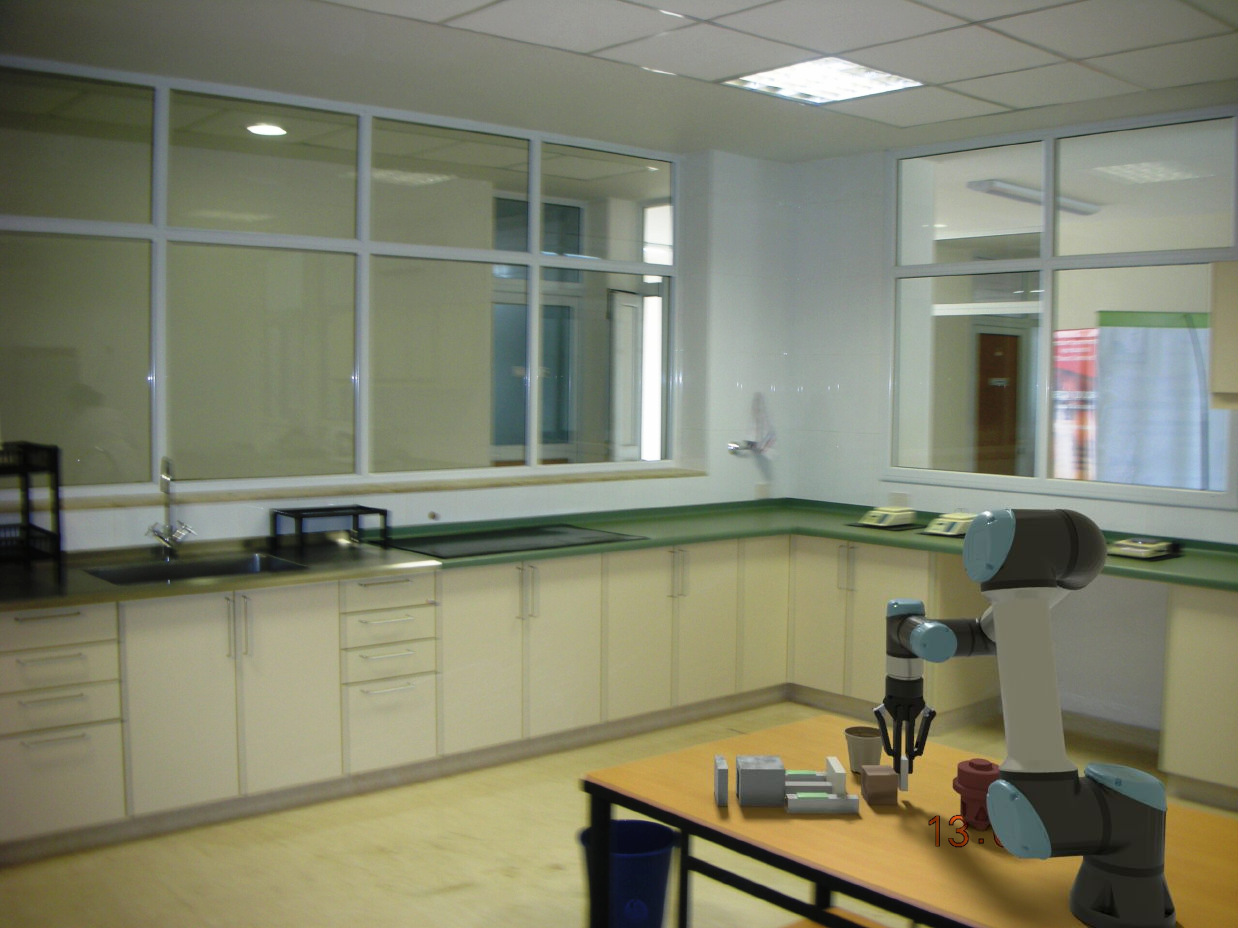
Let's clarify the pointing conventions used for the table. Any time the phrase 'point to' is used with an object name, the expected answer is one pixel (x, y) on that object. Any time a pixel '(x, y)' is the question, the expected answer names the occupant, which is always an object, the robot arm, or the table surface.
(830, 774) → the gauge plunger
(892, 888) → the table surface
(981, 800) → the mechanical component
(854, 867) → the table surface
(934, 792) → the table surface
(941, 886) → the table surface
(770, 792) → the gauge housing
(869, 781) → the walnut block
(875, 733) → the flower pot
